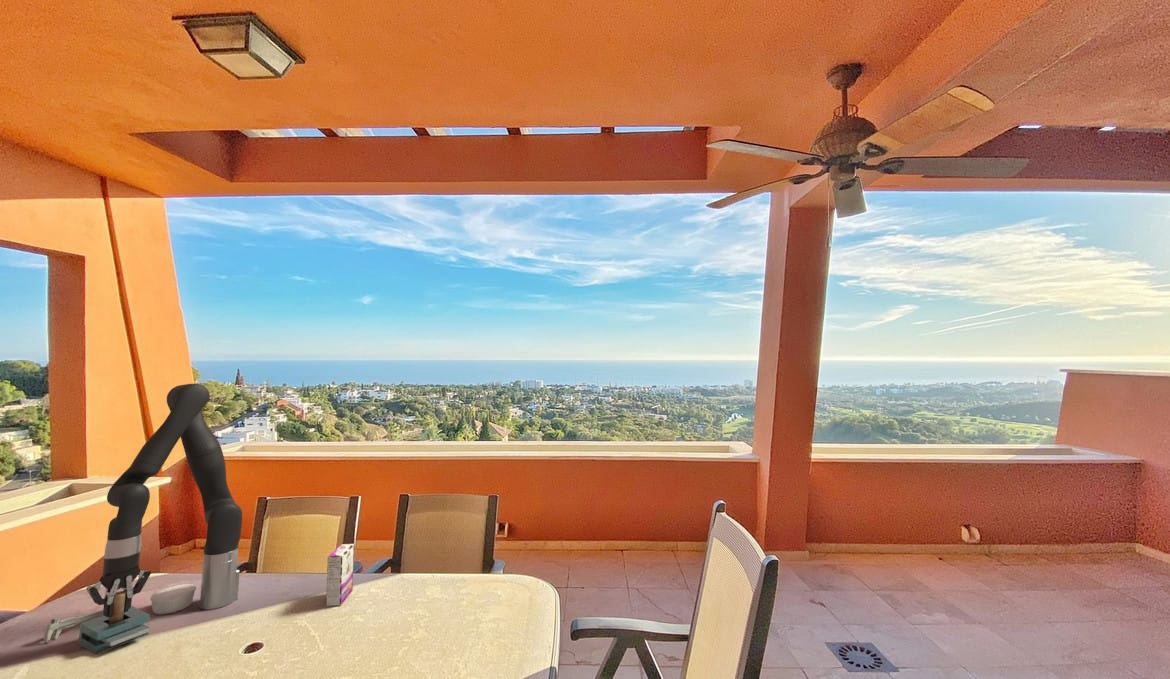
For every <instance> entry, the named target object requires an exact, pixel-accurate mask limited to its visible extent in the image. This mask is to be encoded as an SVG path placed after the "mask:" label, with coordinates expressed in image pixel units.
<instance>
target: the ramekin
mask: <svg viewBox="0 0 1170 679" xmlns="http://www.w3.org/2000/svg"><path fill="white" fill-rule="evenodd" d="M196 590H197V586H196V585H195V584H192V583H191V584H190V583H189V584H188V583H187V584H186V583H185V584H178V585H173V586H170V587H166V588H164V589H161V590H158V591H157V592H154V593H153V594H151V596H150V601H151V607H152V611H153V613H154V614H156V615H167V614H171V613H172V614H173V613H176V611H177V612H180V611H181V610H184V609H186V608H188V607H189V606H190V605H191V604H192V602H193V600H194V596H195V593H196ZM187 606H188V607H187ZM179 610H180V611H179Z"/></svg>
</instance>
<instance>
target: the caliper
mask: <svg viewBox="0 0 1170 679" xmlns="http://www.w3.org/2000/svg"><path fill="white" fill-rule="evenodd" d="M101 616H104V615H103V609H100V610H97V611H94V612H93V611H92V612H90V613H88V614H83V615H80V616H71V617H67V618H64V619H61V617H56V618H52V619H51V620H50V623H48V624H47V626H46V628H45V630H44V637H43V638H44V639H43V643H44V644H49V643H50V641H56V640H57V639H58V637H59V636H60V634H61V632H62V631H63V629H71V628H74V627H75V626H76V624H78V623H83V622H86V621H89V620H92V619H95V618H98V617H101ZM60 619H61V620H60ZM55 639H56V640H55Z"/></svg>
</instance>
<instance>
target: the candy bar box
mask: <svg viewBox="0 0 1170 679" xmlns="http://www.w3.org/2000/svg"><path fill="white" fill-rule="evenodd" d="M354 547H355V544H354V543H343V544H339V546H337V547H336V549H334V550H333V551H332V552H331V553H330V554H329V555H328V556H327V566H326V567H327V568H326V569H327V570H326V571H327V572H326V575H327V576H326V596H325V597H326V601H325V603H326V604H325V607H327V608H328V607H339V606H342V604H343V603H344V602H345V601H346V599H347V598H348V597H349V595H351V593H352V591H353V590H354V589H353V586H354V585H353V584H354V583H353V582H354V580H353V579H354V557H355V556H354V553H355V552H354V551H355V548H354Z"/></svg>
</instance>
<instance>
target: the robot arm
mask: <svg viewBox="0 0 1170 679" xmlns="http://www.w3.org/2000/svg"><path fill="white" fill-rule="evenodd" d="M210 394H211V393H210V391H209V389H208V388H207V387H206V386H205V385H203V384H200V383H188V384H187V383H185V384H180V385H176V386H174V387H172V388H171V389H170V390H169V391H168V393H167V394H166V404H167V406H168V409H169V411H170V412H169V414H168V415H167V417H166V418H165V420H164V422H163V423H162V424H161V425H160V427H159V428H158V429H156V431H155V432H154V433H153V434H152V435H151V436H150V437H149V438H148V440H147V441H146V442H145V443H144V444H143V446H142V447H141V449H140V450H139V451H138V453H137V455H136V456H135V458H134V460H133V461H132V463H131V464H130V466H129V467H128V468H127V469H126V470H125V471H124V472H123V473H122V474H121V475H120V476H119V477H118V479H117V480H116V481H115V482H114V483H112V485H111V487H110V488H109V490H108V492H107V496H106V501H107V503H108V504H109V505H111V506H113V507H116V508H118V509H117V510H118V511H117V514H116V517H114V518H112V519H111V520H110V521H109V523H108V530H107V536H106V537H107V539H106V543H105V547H104V556H103V566H102V575H101V577H100V579H99V581H97V582H96V583H95V584H93V585H88V586H87V587H86V591H87V593H89V596H90V598H91V599H92V601H93V602H94V603H95V604H97V605H98V606H102V605H103V609H102V610H103V615H102V616H106V617H107V618H109V617H112V611H113V603H112V602H113V598H114V595H115V594H116V592H118V590H120V589H122V591H126V599H125V608H124V612H127V611H128V609H130V607H131V606H132V602H133V597H134V596H135V595H137V594H139V593H140V592H142V590H143V588H144V587H145V585H146V584H147V581H148V579H149V577H150V576H151V575H152V572H151V571H150V570H147V569H144V570H141V568H140V560H141V550H142V527H143V526H142V525H143V518H144V516H145V513H146V511H147V508H148V506H149V503H150V498H151V492H150V489H149V487H148V486H146V485H145V483H146V482H147V480H149V478H152V477H155V476H156V475H157V474H159V472H160V471H161V469H162V467H163V466H164V465H165V463H166V461H167V459H168V458H169V456H170V454H171V452H172V451H173V449H174V448H175V446H176V444H177V443H178V441H179V440H181V442H182V447H183V450H184V454H185V459H186V461H187V464H188V468H189V470H190V473H191V475H192V479H193V480H194V482H195V485H196V486H197V487H198V490H199V493H200V496H201V500H202V506H203V511H204V512H203V513H204V520H205V522H206V524H207V527H206V528H207V530H206V539H205V540H206V541H205V543H204V546H203V547H204V548H203V558H202V571H201V572H202V573H201V587H200V598H199V608H200V609H201V610H215V609H218V608H223V607H225V606H228V605H229V604H232V603H233V602H234V601H235V600H238V599H239V585H240V572H241V571H240V569H238V561H239V560H238V559H239V543H240V540H241V536H242V528H243V527H242V526H243V525H242V524H243V511H242V508H241V507H240V506H239V505H238V504H237V503H236V501H235V500H234V498H233V496H232V493H231V491H230V488H229V486H228V481H227V468H226V461H225V456H224V452H223V449H222V446H221V443H220V441H219V440H218V438H217V437H216V435H215V434H214V432H212V430H211V429H210V427H209V425H208V424H207V422H206V420H205V418H204V413H203V409H204V408H205V407H206V406H207V405H208V403H209V401H210V398H211V397H210V396H211V395H210ZM137 577H138V579H137ZM136 579H137V581H136V583H135V584H134V586H133V582H134V581H135V580H136ZM101 586H103V587H104V588H105V591H104V598H103V597H102V596H101V594H100V592H99V591H100V590H101Z"/></svg>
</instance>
